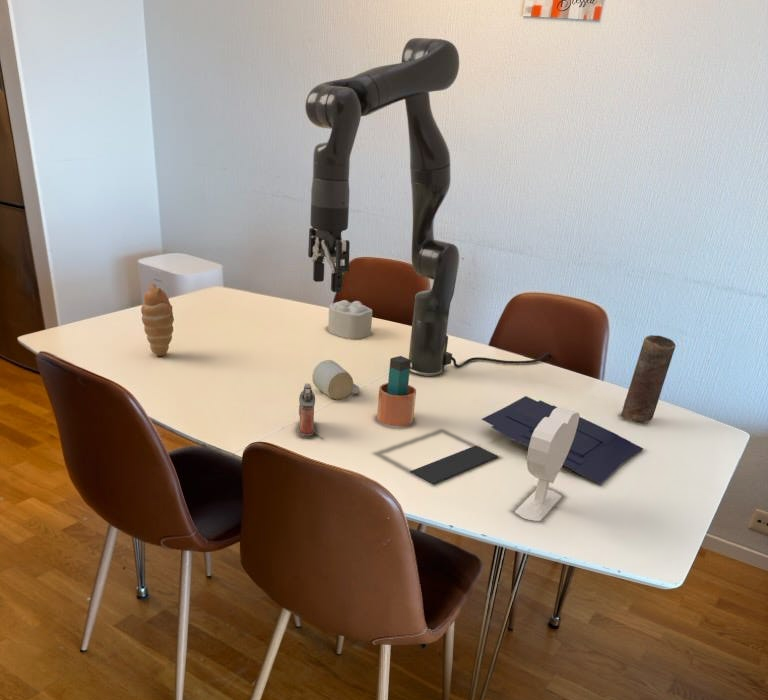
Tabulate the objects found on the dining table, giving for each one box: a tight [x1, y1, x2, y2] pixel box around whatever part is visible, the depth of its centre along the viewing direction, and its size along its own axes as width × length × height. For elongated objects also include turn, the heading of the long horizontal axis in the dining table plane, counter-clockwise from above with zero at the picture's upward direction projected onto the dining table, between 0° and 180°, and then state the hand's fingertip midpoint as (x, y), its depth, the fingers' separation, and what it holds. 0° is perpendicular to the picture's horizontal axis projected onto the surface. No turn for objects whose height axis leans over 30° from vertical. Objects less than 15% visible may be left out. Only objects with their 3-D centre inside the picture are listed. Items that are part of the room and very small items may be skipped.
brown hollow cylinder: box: [620, 334, 677, 424], centre depth 169 cm, size 8×7×20 cm
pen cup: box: [376, 382, 417, 427], centre depth 160 cm, size 8×8×8 cm
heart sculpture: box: [514, 406, 581, 522], centre depth 130 cm, size 16×5×18 cm, turn 148°
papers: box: [481, 395, 644, 485], centre depth 158 cm, size 24×30×4 cm
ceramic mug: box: [311, 359, 360, 401], centre depth 171 cm, size 11×8×8 cm
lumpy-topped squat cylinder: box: [327, 299, 373, 340], centre depth 214 cm, size 10×13×9 cm
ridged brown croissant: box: [140, 282, 175, 357], centre depth 181 cm, size 9×8×18 cm
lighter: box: [298, 382, 316, 439], centre depth 151 cm, size 8×3×10 cm, turn 5°
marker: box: [387, 355, 411, 396], centre depth 158 cm, size 3×3×14 cm
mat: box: [409, 445, 499, 485], centre depth 148 cm, size 20×16×1 cm
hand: (327, 286), depth 149 cm, fingers open, 8 cm apart
